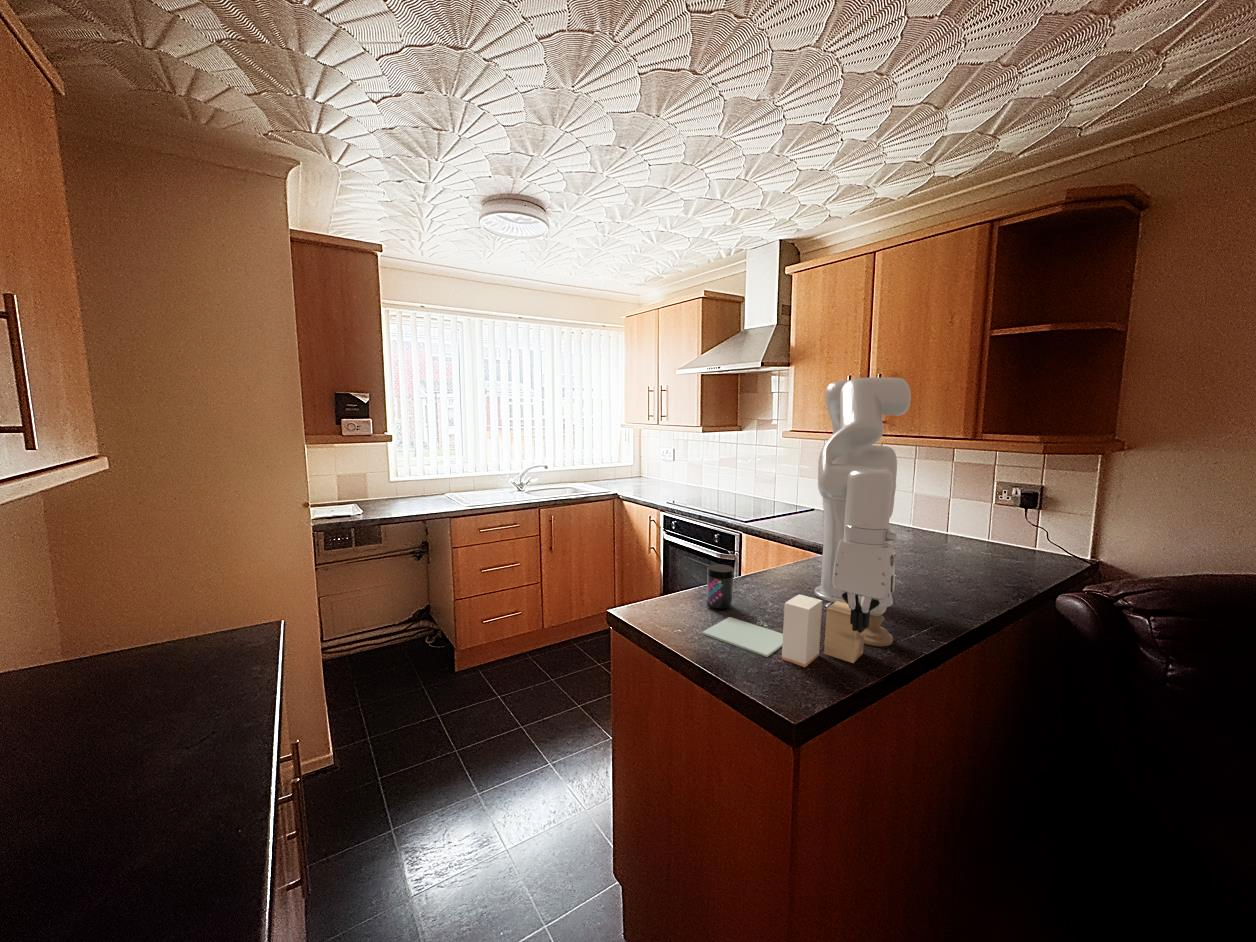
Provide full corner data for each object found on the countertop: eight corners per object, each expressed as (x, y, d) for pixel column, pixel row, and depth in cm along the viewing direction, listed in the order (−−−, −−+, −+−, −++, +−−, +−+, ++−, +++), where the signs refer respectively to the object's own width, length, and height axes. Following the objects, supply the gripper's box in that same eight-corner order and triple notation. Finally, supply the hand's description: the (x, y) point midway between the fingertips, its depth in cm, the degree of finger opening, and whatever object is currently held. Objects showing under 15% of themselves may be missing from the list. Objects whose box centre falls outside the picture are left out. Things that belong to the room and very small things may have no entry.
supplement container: (705, 601, 135) (706, 563, 134) (730, 602, 135) (731, 564, 134) (707, 611, 129) (708, 571, 127) (734, 612, 128) (735, 572, 127)
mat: (729, 618, 124) (729, 616, 124) (791, 638, 114) (791, 636, 113) (702, 633, 115) (702, 631, 115) (767, 657, 105) (767, 654, 105)
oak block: (834, 644, 111) (837, 600, 110) (862, 653, 107) (866, 608, 106) (823, 653, 107) (826, 608, 106) (853, 663, 103) (856, 616, 102)
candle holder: (860, 626, 121) (866, 543, 118) (899, 639, 114) (906, 552, 112) (843, 637, 115) (849, 550, 113) (883, 650, 108) (890, 559, 106)
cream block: (795, 647, 109) (798, 594, 108) (818, 655, 106) (822, 600, 105) (781, 658, 104) (784, 602, 103) (805, 667, 101) (808, 609, 99)
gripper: (915, 538, 92) (907, 635, 94) (832, 526, 102) (827, 614, 104) (904, 545, 87) (896, 648, 89) (818, 531, 97) (812, 624, 98)
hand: (859, 629), depth 96 cm, fingers closed
